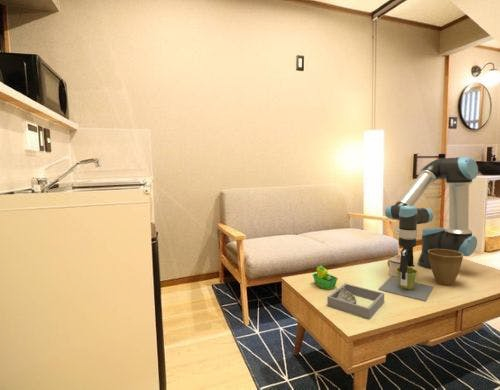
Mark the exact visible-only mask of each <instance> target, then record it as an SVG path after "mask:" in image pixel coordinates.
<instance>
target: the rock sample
mask: <svg viewBox="0 0 500 390" xmlns="http://www.w3.org/2000/svg"><path fill="white" fill-rule="evenodd" d="M336 298H337V299H340V300H344V301H347V302H350V303H354V304H357V300H358V299H357V298H356V295H354V294H352V293H350V292H349V291H347V290H346V289H345V288H344V287H343V288H342V289H341V290H340V292H339V294H338V295H337V297H336Z"/></svg>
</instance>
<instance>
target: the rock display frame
mask: <svg viewBox="0 0 500 390" xmlns="http://www.w3.org/2000/svg"><path fill="white" fill-rule="evenodd" d="M343 287H344V288H345V289H346V290H347V291H349V292H350V293H352V294H353V295H354V296H357V297H361V298H365V299H369V300H373V301H372V302H371V304H370V305H369V306H368V307H367V306H363V305H360V304H357V303H356V304H354V303H350V302H347V301H344V300H340V299H337V298H336V297H337V295H338V294H339V292H340V290H341V289H342V288H343ZM326 301H327V304H326V305H327V306H328V307H331V308H333V309H338V310H340V311H343V312H347V313H350V314H353V315H355V316H358V317H362V318H365V319H369V320H370V319H371V318H372V317H373V316H374V314H375V313H376V312H377V311H378V310H379V309H380V308H381V306H382V305H383V304H384V303H385V293H384V292H382V291H377V290H374V289H373V290H372V289H370V288H369V289H368V288H365V287H361V286H357V285H354V284H349V283H343V284H342V285H341V286H340V287H339V288H337V289H335V291H333V292H332V293H330V294H329V295H328V296H327V300H326Z"/></svg>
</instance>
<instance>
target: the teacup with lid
mask: <svg viewBox="0 0 500 390" xmlns="http://www.w3.org/2000/svg"><path fill="white" fill-rule="evenodd" d="M400 260H401V254H396V255H395V256H392V257H390V258H389V259H388V260H387V262H386V264H387V266H388V268H389V275H390V277H393V278H397V279H398V273H397V271H396V268H398V267H400Z"/></svg>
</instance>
